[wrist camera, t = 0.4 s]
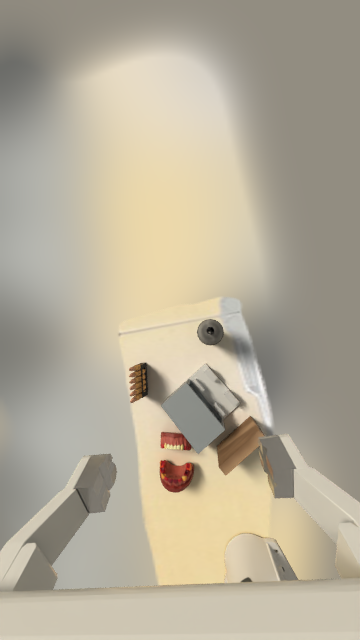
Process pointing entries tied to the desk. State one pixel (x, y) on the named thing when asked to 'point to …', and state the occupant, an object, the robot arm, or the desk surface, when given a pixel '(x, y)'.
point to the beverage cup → (210, 332)
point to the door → (238, 445)
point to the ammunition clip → (139, 382)
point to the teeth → (175, 475)
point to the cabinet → (200, 407)
